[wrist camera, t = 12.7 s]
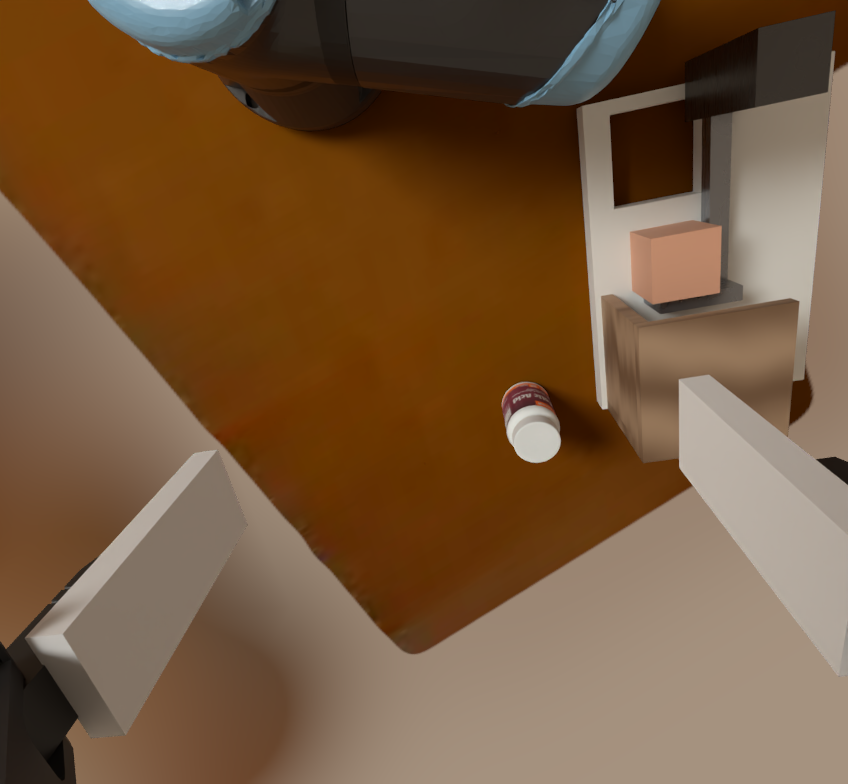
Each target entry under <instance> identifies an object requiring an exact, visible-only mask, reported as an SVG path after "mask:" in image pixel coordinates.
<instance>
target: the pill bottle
mask: <svg viewBox="0 0 848 784" xmlns="http://www.w3.org/2000/svg"><path fill="white" fill-rule="evenodd" d="M502 410H503V415H504V420H505V426H506V432H507V437H508V439H509V441H510V443H511V444H512V445H513V446H514V449H515V451H516V453H517V454H518V455H519V456H520V457H521V458H522V459H524V460H526V461H528V462H533V463H539V462H544V461H547V460H549V459H551V458H552V457H553V456H554V455H555V454H556V453H557V452H558V450H559V448H560V444H561V438H560V434H559V433H560V423H559V420H558V418H557V415H556V413H555V410H554V408H553V406H552V403H551V401H550V398H549V396H548V394H547V392H546V391H545V389H544V388H543V387H541V386H540V385H538V384H536V383H533V382H520V383H517V384H515V385H513V386H512V387H510V388H509V389H508V390H507V392H506V393H505V395H504V397H503V400H502Z"/></svg>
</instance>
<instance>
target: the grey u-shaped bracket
mask: <svg viewBox="0 0 848 784" xmlns="http://www.w3.org/2000/svg"><path fill="white" fill-rule="evenodd" d="M834 21H835V11H831V12H827V13H822V14H818V15H814V16H809V17H805V18H800V19H796V20H792V21H787V22H783V23H779V24H774V25H770V26H766V27H761V28H758V29H756V30H753V31H751V32H749V33H747V34H745V35H743V36H741V37H738V38H736V39H734V40H732V41H730V42H728V43H726V44H723V45H721V46H719V47H717V48H715V49H713V50H711V51H708V52H706V53H704V54H702V55H700V56H698V57H696V58H693V59H691V60H689V61H687V62H685V122H689V121H693V120H698V119H702V176H701V222H705V223H710V224H715V225H720V226H722V231H721V271H720V293H716V294H710V295H705V296H699V297H693V298H687V299H681V300H675V301H670V302H664V303H658V304H651V303H650V302H648V301H647V300H645V299H644V298H643V299H644V303H645V304H646V305H648V306H649V307H651V308H652V309H654V310H655V311H657V312H658V313H659V314H665V313H671V312H676V311H682V310H688V309H694V308H700V307H706V306H712V305H718V304H724V303H730V302H735V301H741V300H743V285H741V284H738V283H736V282H733V281H731V280H728V246H729V212H730V179H731V145H732V112H736V111H741V110H746V109H751V108H756V107H760V106H765V105H770V104H774V103H779V102H784V101H789V100H793V99H798V98H803V97H808V96H812V95H817V94H822V93H826V92H828V87H829V76H830V65H831V54H832V43H833V32H834Z"/></svg>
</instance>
